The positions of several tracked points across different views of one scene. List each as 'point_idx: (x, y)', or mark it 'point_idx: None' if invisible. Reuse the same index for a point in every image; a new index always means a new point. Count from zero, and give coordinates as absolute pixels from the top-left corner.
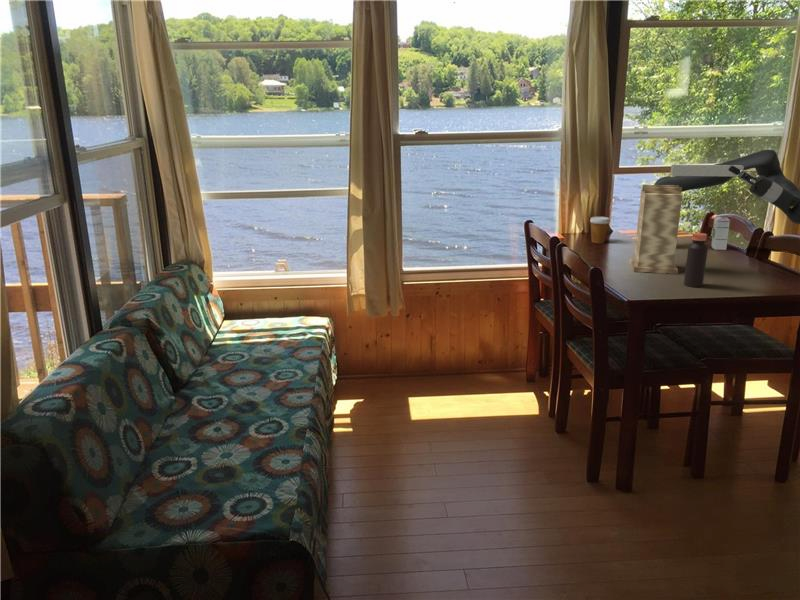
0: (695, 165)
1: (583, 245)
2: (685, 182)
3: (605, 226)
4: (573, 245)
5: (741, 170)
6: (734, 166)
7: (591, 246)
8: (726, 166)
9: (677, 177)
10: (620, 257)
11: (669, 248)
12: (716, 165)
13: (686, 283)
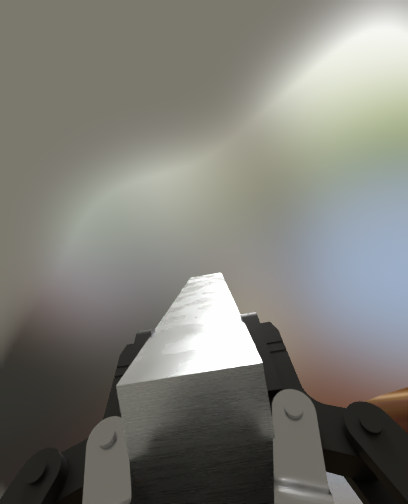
0: (198, 285)
1: (398, 410)
2: None
3: None
4: (381, 398)
5: (101, 422)
6: (148, 343)
7: (403, 421)
8: (160, 322)
9: None
10: (339, 479)
11: None
12: (201, 301)
13: None
